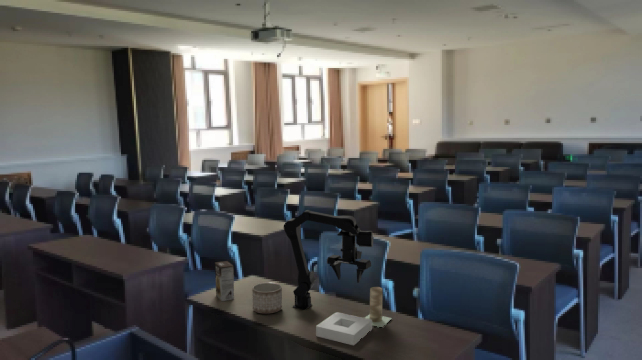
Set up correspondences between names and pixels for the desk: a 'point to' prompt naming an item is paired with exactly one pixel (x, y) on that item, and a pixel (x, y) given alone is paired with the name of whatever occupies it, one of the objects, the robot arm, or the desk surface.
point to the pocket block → (344, 328)
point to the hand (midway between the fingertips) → (348, 281)
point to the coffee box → (224, 280)
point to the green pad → (380, 324)
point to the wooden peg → (376, 304)
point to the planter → (267, 297)
